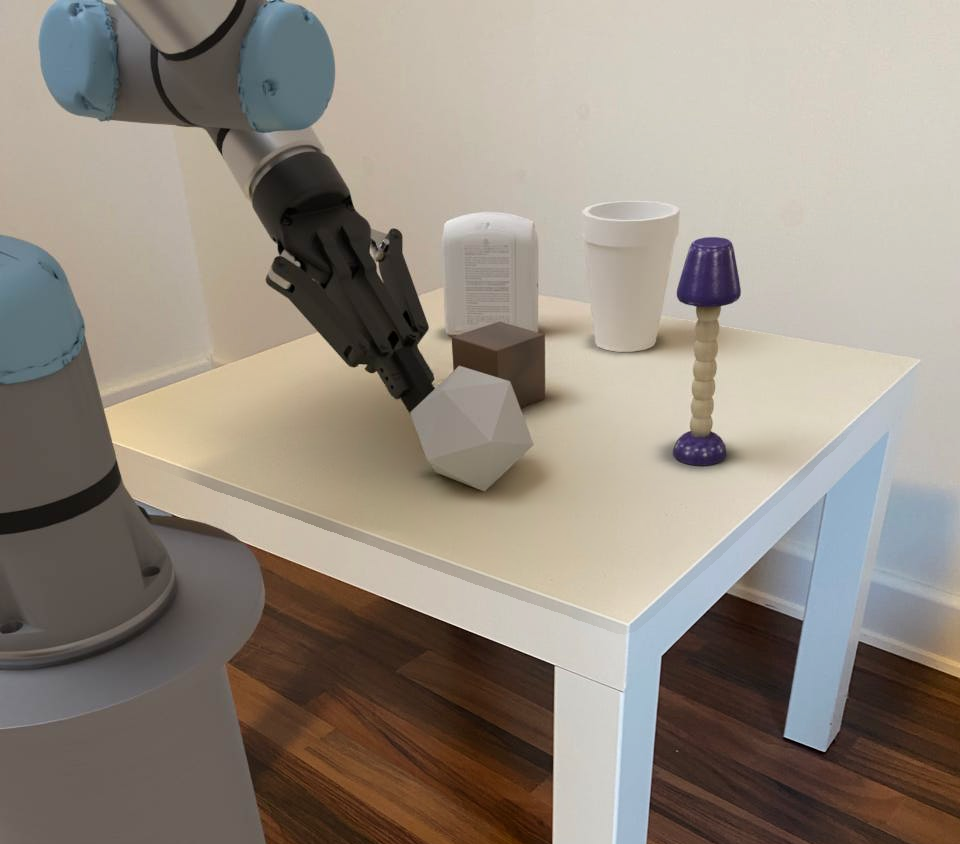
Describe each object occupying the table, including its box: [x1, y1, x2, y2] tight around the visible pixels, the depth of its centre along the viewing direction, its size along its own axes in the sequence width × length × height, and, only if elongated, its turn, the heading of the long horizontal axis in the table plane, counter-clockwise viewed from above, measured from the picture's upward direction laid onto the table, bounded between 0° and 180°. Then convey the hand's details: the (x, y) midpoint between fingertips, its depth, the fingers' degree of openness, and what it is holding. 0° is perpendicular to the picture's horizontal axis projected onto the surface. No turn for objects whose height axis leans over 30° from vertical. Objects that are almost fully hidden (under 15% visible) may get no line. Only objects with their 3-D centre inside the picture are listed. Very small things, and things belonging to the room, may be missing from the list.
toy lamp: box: [672, 236, 742, 466], centre depth 77 cm, size 5×5×17 cm
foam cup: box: [580, 199, 681, 353], centre depth 102 cm, size 10×9×13 cm
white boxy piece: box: [440, 211, 539, 336], centre depth 107 cm, size 10×4×12 cm, turn 81°
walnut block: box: [451, 322, 546, 409], centre depth 92 cm, size 6×6×6 cm
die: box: [409, 366, 535, 492], centre depth 78 cm, size 8×9×10 cm
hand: (436, 424), depth 82 cm, fingers closed
